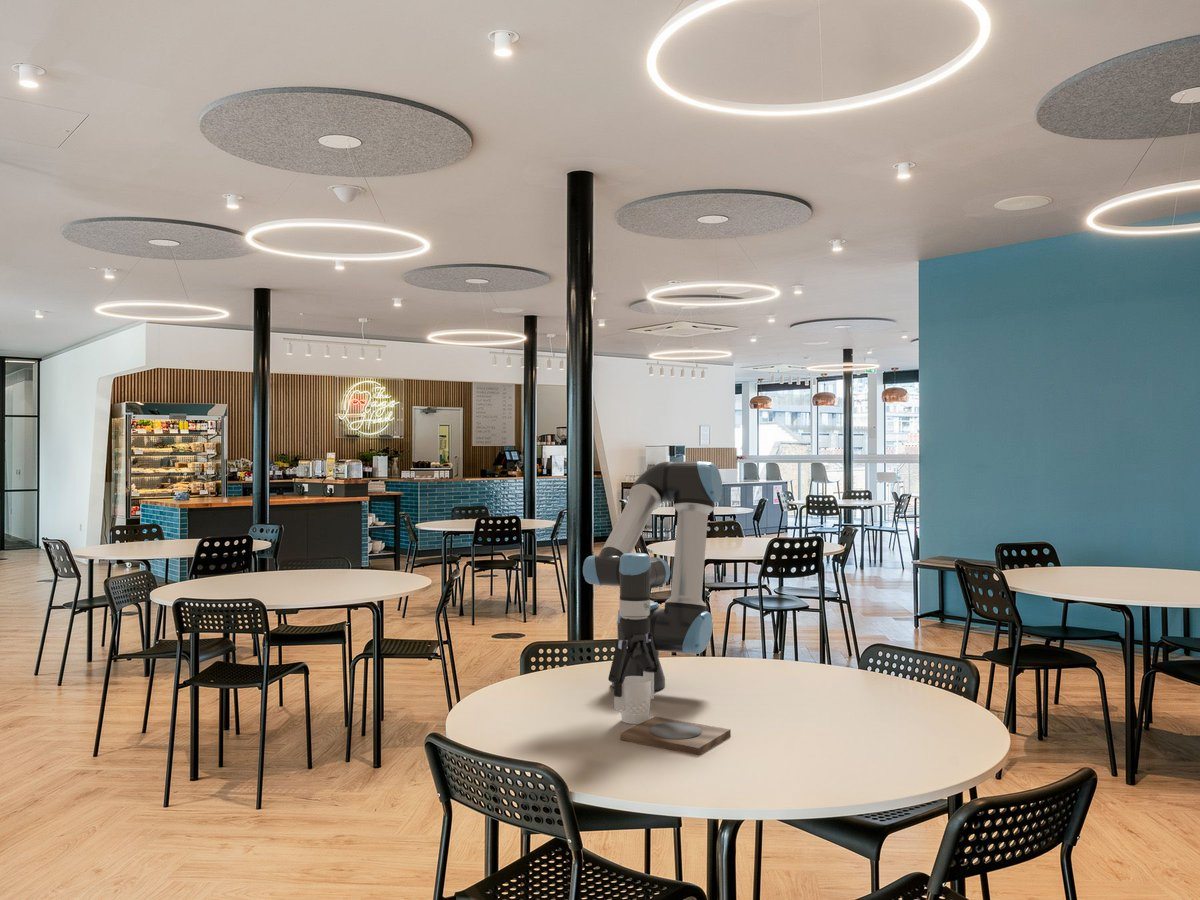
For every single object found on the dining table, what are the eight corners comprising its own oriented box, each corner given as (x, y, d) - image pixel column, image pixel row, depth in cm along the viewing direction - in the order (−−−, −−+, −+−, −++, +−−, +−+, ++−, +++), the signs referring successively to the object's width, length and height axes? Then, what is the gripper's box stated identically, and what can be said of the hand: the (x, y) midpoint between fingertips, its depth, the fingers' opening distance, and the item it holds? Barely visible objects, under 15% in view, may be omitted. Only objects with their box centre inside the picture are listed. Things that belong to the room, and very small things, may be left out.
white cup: (629, 714, 224) (628, 674, 224) (657, 718, 220) (656, 678, 220) (613, 722, 217) (613, 681, 218) (641, 727, 213) (641, 685, 214)
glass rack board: (655, 722, 217) (655, 715, 217) (730, 736, 206) (730, 728, 206) (620, 739, 204) (620, 731, 204) (699, 755, 193) (698, 746, 193)
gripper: (620, 625, 207) (620, 717, 206) (672, 611, 228) (672, 695, 227) (593, 622, 211) (593, 712, 210) (647, 609, 232) (647, 691, 231)
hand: (634, 704), depth 219 cm, fingers open, 13 cm apart
